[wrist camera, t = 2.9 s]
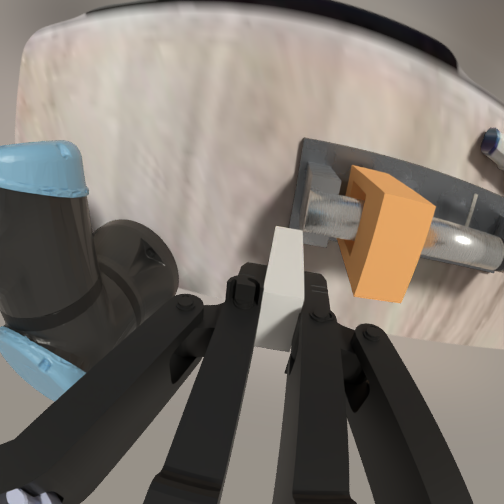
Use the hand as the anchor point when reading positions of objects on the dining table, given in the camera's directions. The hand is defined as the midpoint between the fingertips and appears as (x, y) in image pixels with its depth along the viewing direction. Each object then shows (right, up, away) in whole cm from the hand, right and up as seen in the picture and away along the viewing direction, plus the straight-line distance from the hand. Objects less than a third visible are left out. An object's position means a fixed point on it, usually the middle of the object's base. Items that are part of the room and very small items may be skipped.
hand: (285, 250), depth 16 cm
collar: (+9, +5, +12) cm, 16 cm away
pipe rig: (+19, +5, +14) cm, 24 cm away
